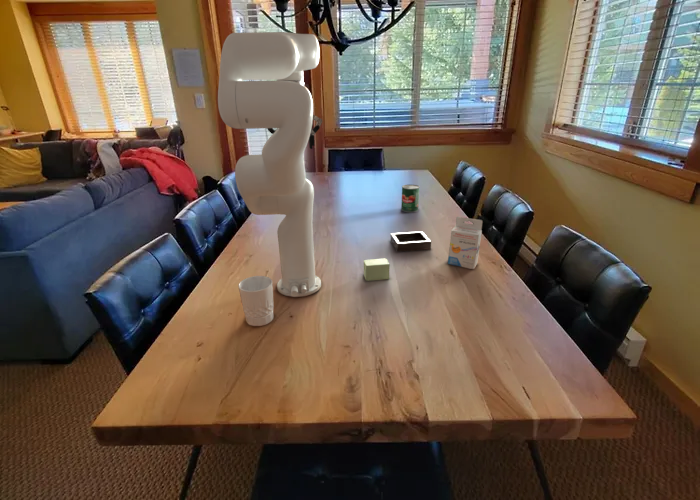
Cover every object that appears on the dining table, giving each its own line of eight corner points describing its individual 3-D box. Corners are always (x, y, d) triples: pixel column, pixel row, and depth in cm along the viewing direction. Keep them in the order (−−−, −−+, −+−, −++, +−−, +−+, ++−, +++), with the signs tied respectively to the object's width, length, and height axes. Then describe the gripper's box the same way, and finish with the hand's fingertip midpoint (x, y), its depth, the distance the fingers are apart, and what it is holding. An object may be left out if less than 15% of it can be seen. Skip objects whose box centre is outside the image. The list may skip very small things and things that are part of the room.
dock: (430, 249, 131) (431, 241, 129) (397, 251, 129) (397, 243, 128) (421, 239, 140) (422, 231, 138) (390, 241, 138) (390, 233, 137)
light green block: (389, 279, 111) (389, 263, 109) (366, 281, 110) (366, 265, 108) (386, 273, 115) (386, 258, 113) (363, 274, 114) (363, 259, 112)
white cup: (262, 306, 98) (258, 272, 94) (282, 317, 93) (279, 281, 89) (237, 320, 92) (231, 284, 88) (257, 332, 88) (252, 295, 84)
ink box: (447, 264, 119) (451, 220, 114) (451, 258, 123) (455, 216, 118) (474, 269, 116) (480, 225, 110) (477, 263, 120) (483, 220, 114)
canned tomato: (417, 207, 176) (419, 184, 172) (418, 212, 169) (420, 188, 165) (400, 207, 177) (401, 184, 173) (401, 212, 170) (402, 188, 166)
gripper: (259, 88, 103) (266, 152, 109) (322, 87, 105) (324, 149, 112) (260, 88, 109) (266, 148, 116) (319, 87, 112) (322, 146, 119)
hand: (295, 148), depth 114 cm, fingers open, 9 cm apart
